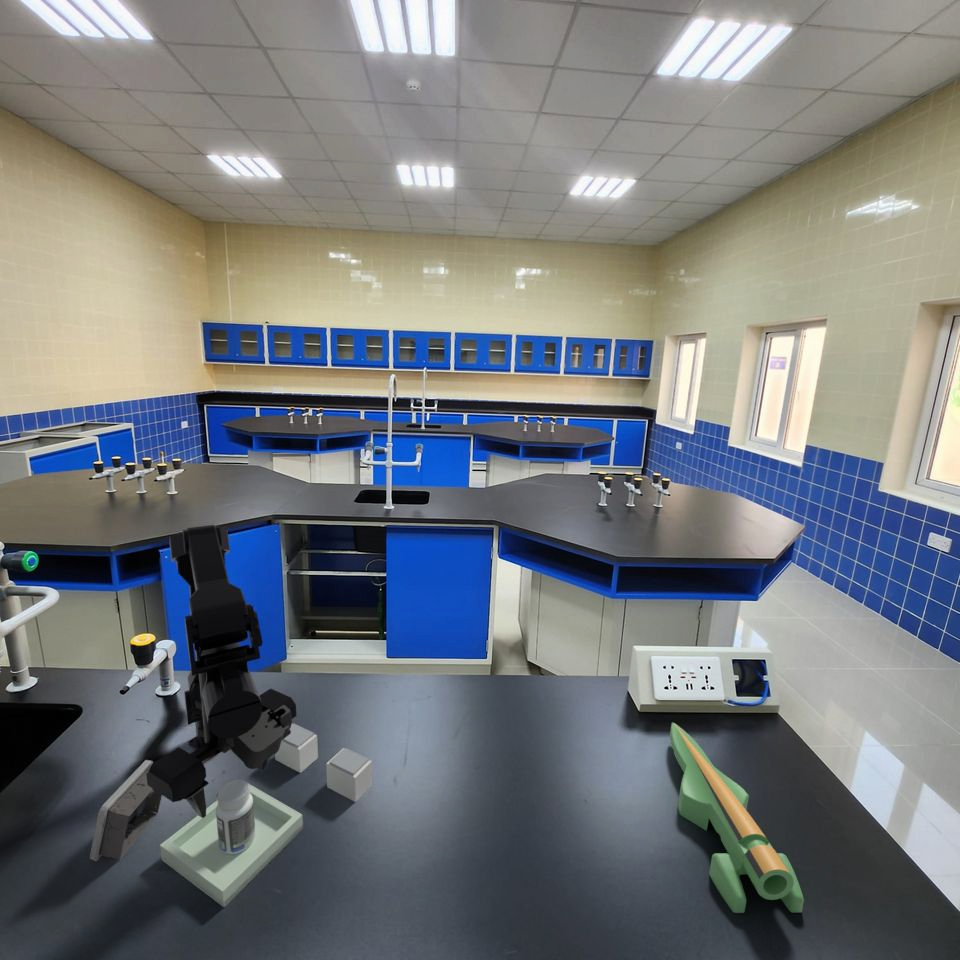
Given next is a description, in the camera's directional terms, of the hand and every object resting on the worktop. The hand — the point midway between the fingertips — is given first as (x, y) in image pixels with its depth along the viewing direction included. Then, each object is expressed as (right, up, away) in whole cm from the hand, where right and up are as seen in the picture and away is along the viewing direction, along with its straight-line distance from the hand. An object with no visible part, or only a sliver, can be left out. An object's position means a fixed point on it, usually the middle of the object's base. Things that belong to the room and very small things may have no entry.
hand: (233, 791), depth 71 cm
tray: (-1, -9, +2) cm, 9 cm away
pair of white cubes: (+7, -6, +16) cm, 19 cm away
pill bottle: (0, -8, +2) cm, 9 cm away
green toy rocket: (+71, -10, +11) cm, 72 cm away
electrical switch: (-16, -8, +3) cm, 18 cm away
